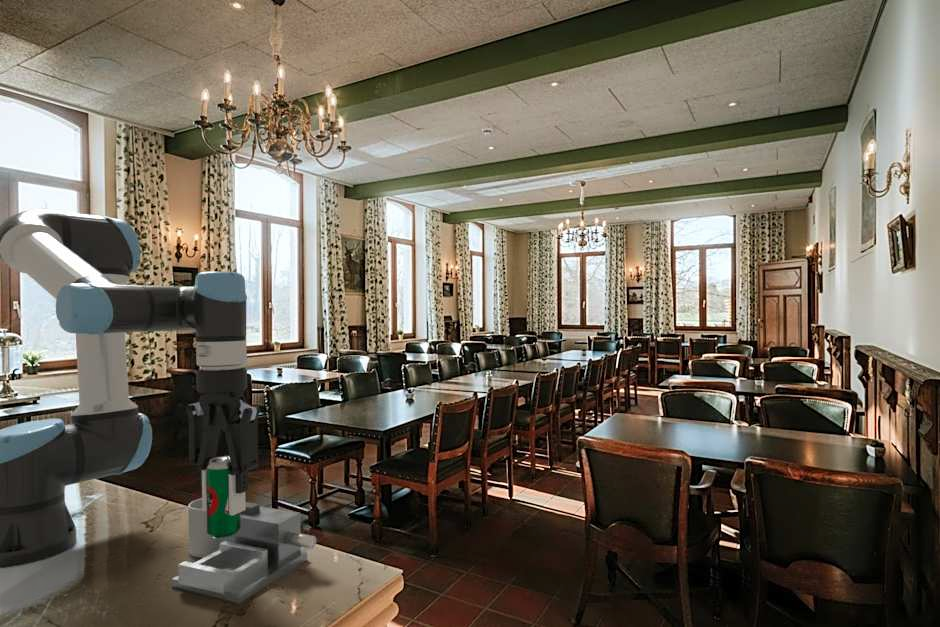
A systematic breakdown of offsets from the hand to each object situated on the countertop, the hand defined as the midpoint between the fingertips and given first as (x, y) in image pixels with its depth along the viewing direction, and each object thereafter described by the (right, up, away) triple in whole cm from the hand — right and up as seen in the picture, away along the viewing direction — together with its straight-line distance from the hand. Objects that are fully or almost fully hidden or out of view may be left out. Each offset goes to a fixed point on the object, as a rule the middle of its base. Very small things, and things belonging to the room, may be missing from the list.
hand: (223, 509), depth 90 cm
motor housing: (+3, -12, +3) cm, 13 cm away
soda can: (0, -4, 0) cm, 4 cm away
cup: (-9, -12, +14) cm, 21 cm away
